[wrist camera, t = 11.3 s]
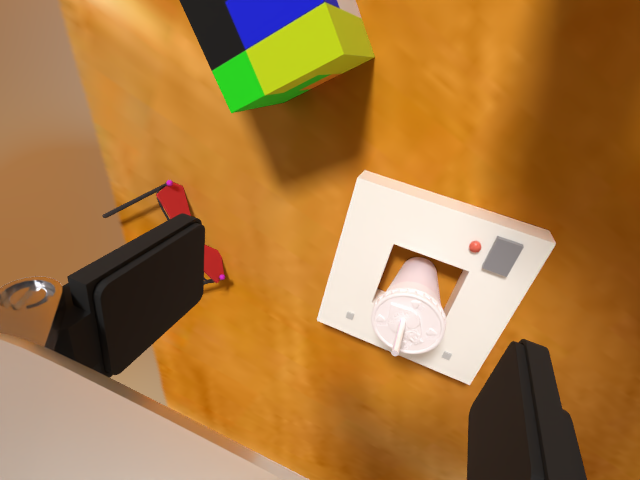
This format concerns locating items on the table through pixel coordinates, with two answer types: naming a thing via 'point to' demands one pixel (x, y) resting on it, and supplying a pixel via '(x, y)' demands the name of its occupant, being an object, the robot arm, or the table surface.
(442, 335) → the smoothie
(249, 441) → the table surface
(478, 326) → the socket plate
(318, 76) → the puzzle toy
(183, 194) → the glasses
